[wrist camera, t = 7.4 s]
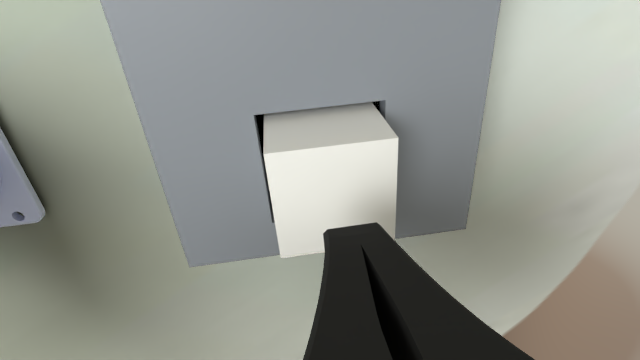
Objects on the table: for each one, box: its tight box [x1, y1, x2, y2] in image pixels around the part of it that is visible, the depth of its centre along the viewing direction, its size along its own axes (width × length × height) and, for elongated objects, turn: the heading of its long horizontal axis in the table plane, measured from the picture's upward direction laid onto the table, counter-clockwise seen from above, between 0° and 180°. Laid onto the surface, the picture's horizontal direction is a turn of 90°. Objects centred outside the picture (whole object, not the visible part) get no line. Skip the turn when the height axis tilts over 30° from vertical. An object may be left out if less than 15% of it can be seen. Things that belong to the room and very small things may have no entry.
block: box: [263, 102, 398, 258], centre depth 14 cm, size 4×4×4 cm
